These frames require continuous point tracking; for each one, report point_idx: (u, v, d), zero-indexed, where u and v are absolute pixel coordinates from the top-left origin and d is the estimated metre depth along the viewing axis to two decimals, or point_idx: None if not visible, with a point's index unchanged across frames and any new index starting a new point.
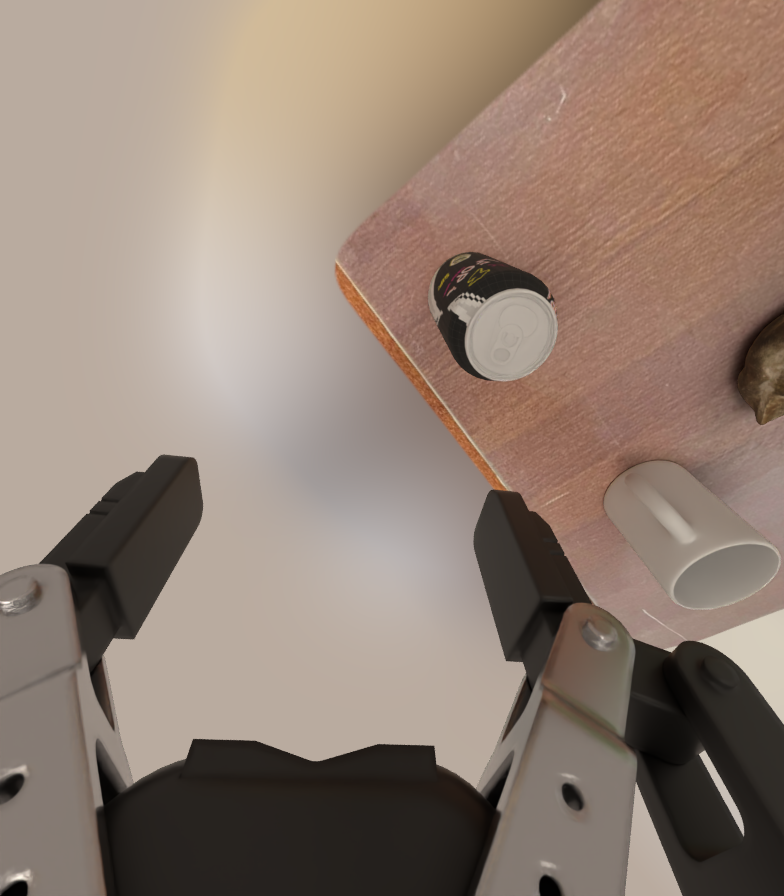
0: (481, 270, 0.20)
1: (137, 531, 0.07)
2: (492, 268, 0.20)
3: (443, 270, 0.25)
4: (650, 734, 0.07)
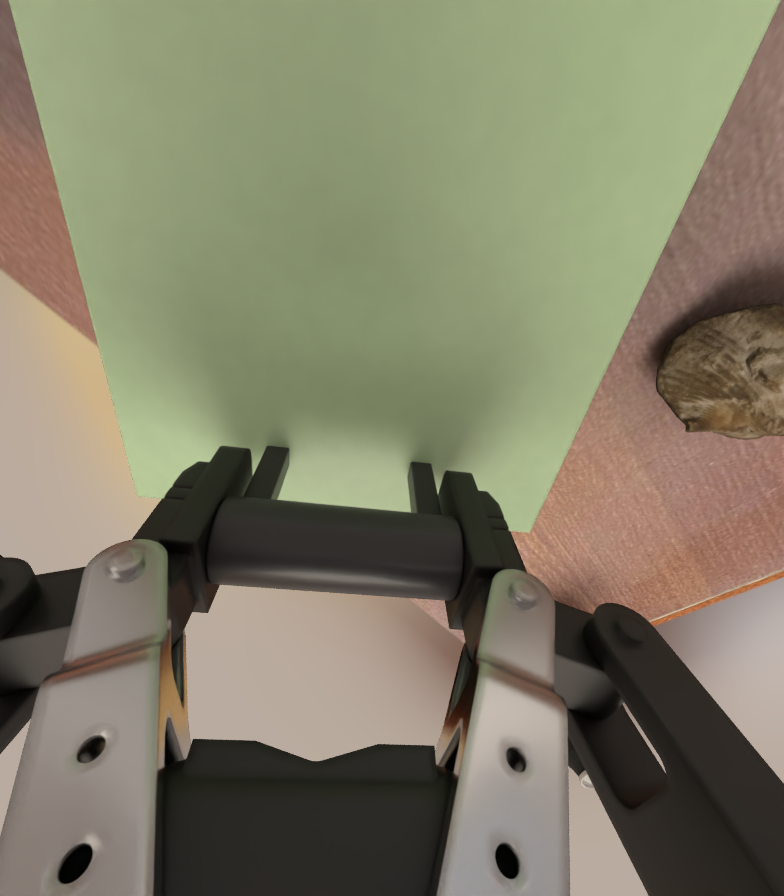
0: None
1: (214, 513, 0.08)
2: None
3: None
4: (570, 689, 0.07)
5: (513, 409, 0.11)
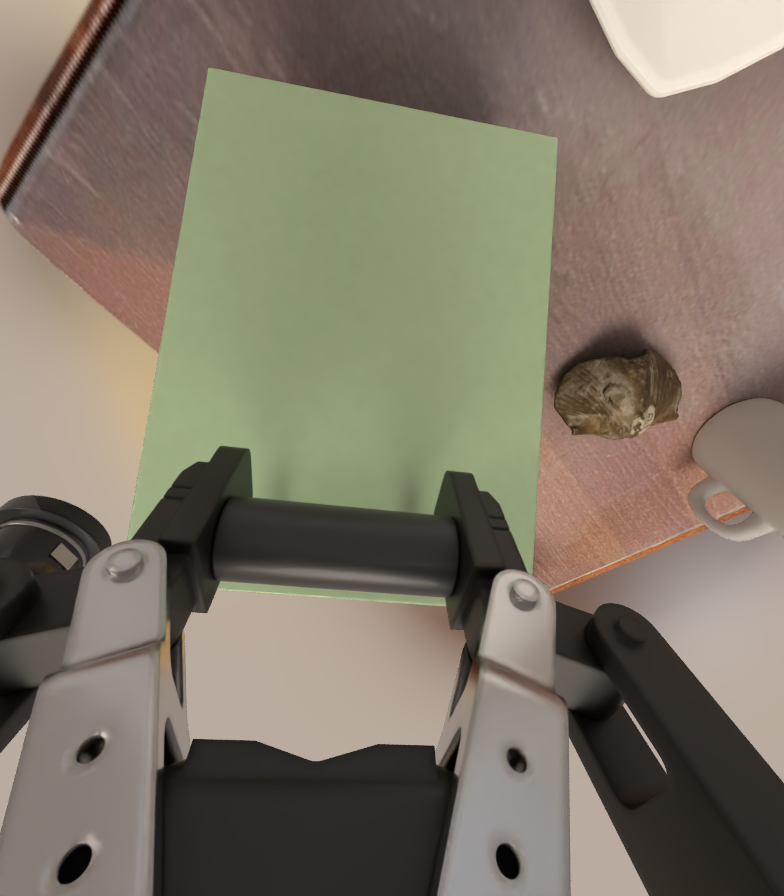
0: None
1: (213, 513, 0.08)
2: None
3: None
4: (571, 690, 0.07)
5: (479, 470, 0.14)
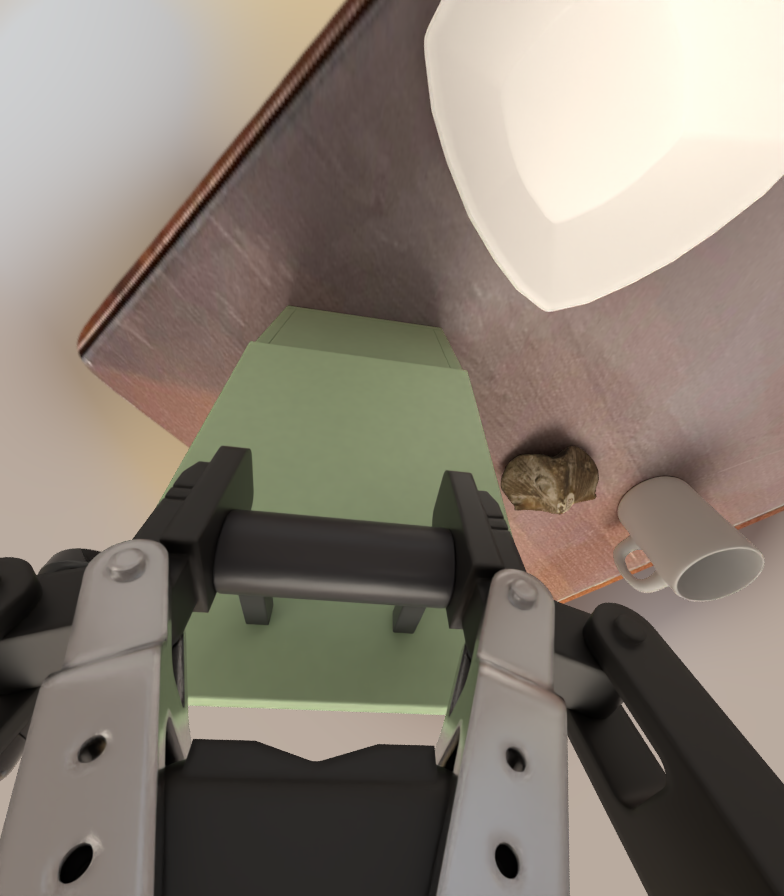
0: None
1: (214, 513, 0.08)
2: None
3: None
4: (570, 689, 0.07)
5: None
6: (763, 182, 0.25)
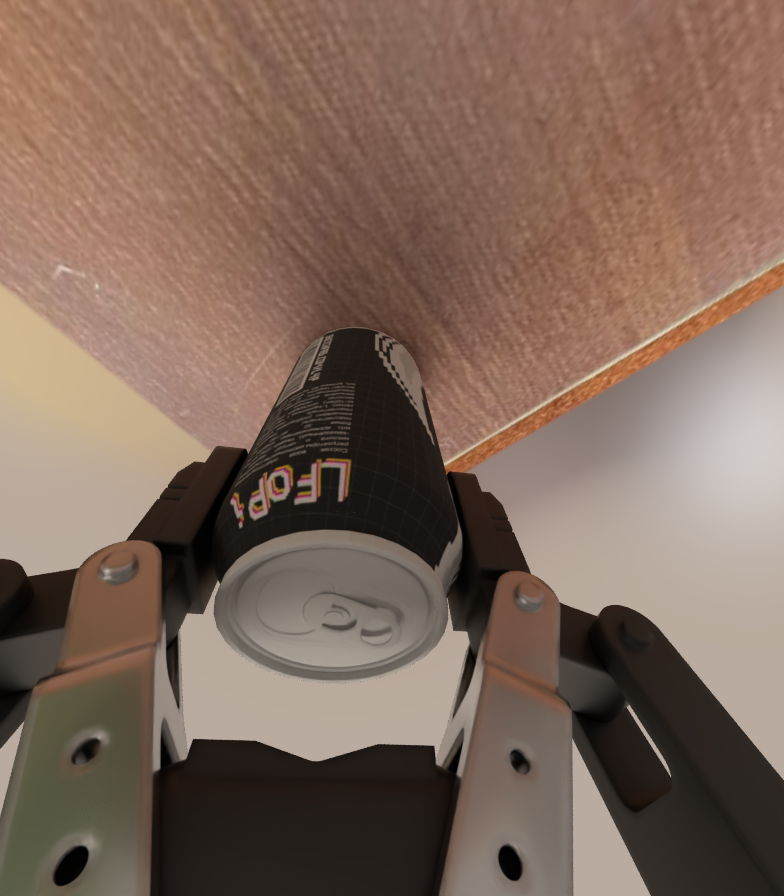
0: None
1: (209, 514, 0.08)
2: None
3: None
4: (576, 692, 0.07)
5: None
6: None
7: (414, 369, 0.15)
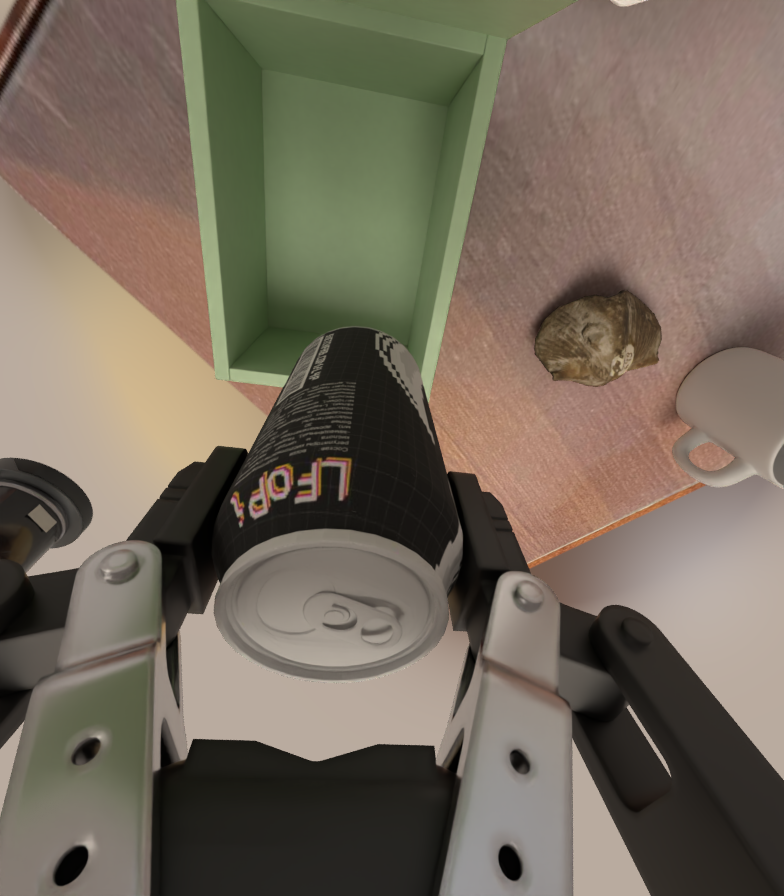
0: None
1: (209, 514, 0.08)
2: None
3: None
4: (575, 691, 0.07)
5: None
6: None
7: (414, 368, 0.15)
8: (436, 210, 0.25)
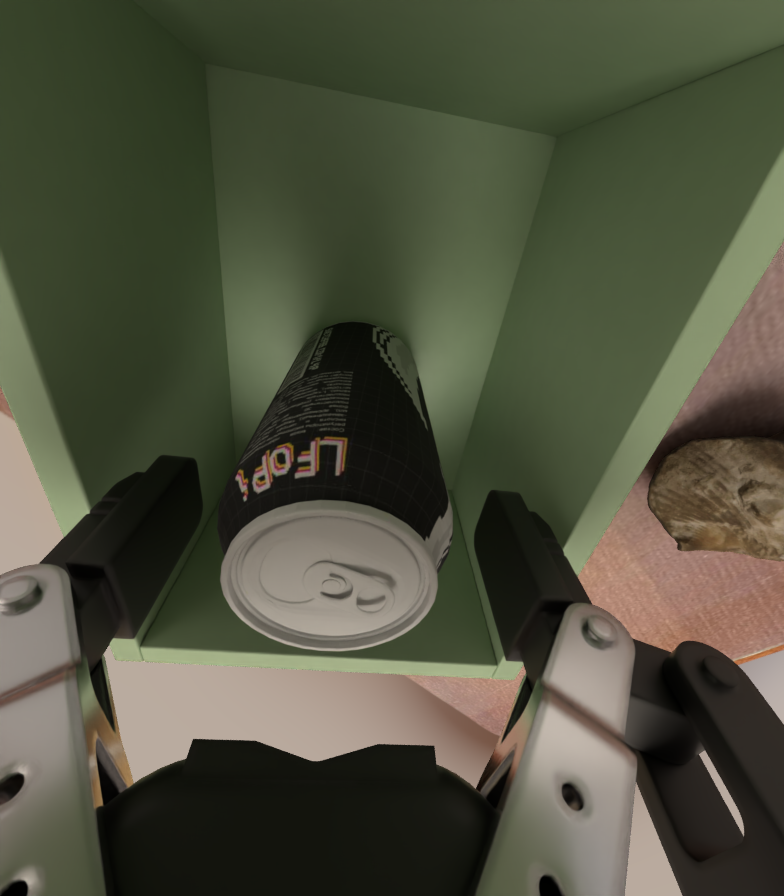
0: None
1: (137, 531, 0.07)
2: None
3: None
4: (650, 734, 0.07)
5: None
6: None
7: (410, 361, 0.15)
8: (533, 327, 0.14)
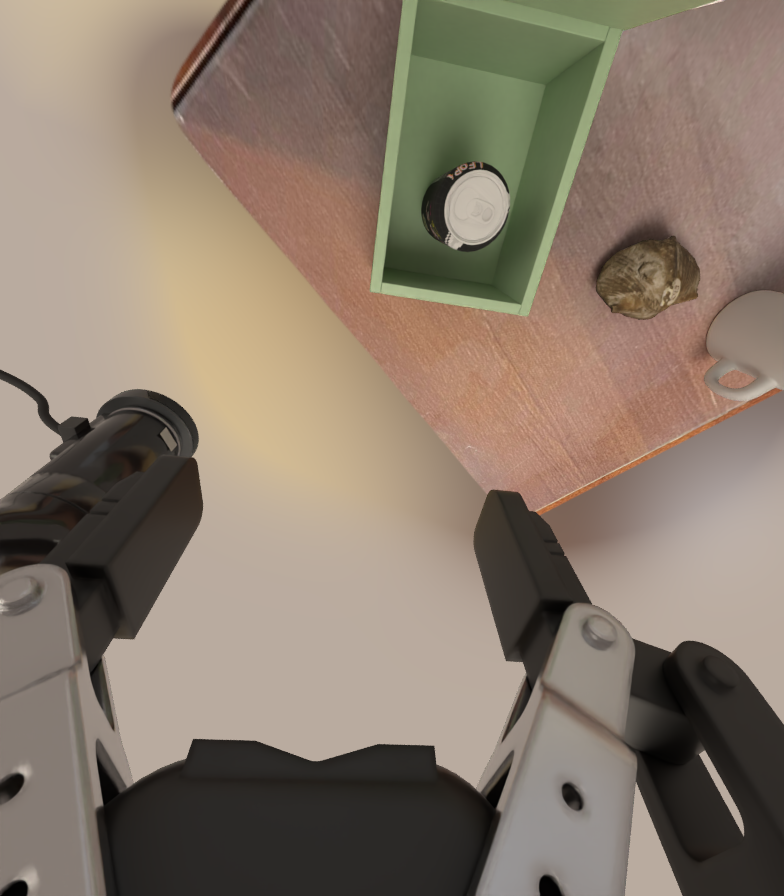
0: (432, 225, 0.30)
1: (137, 531, 0.07)
2: (431, 218, 0.29)
3: (432, 235, 0.36)
4: (650, 734, 0.07)
5: None
6: None
7: None
8: (535, 165, 0.33)
